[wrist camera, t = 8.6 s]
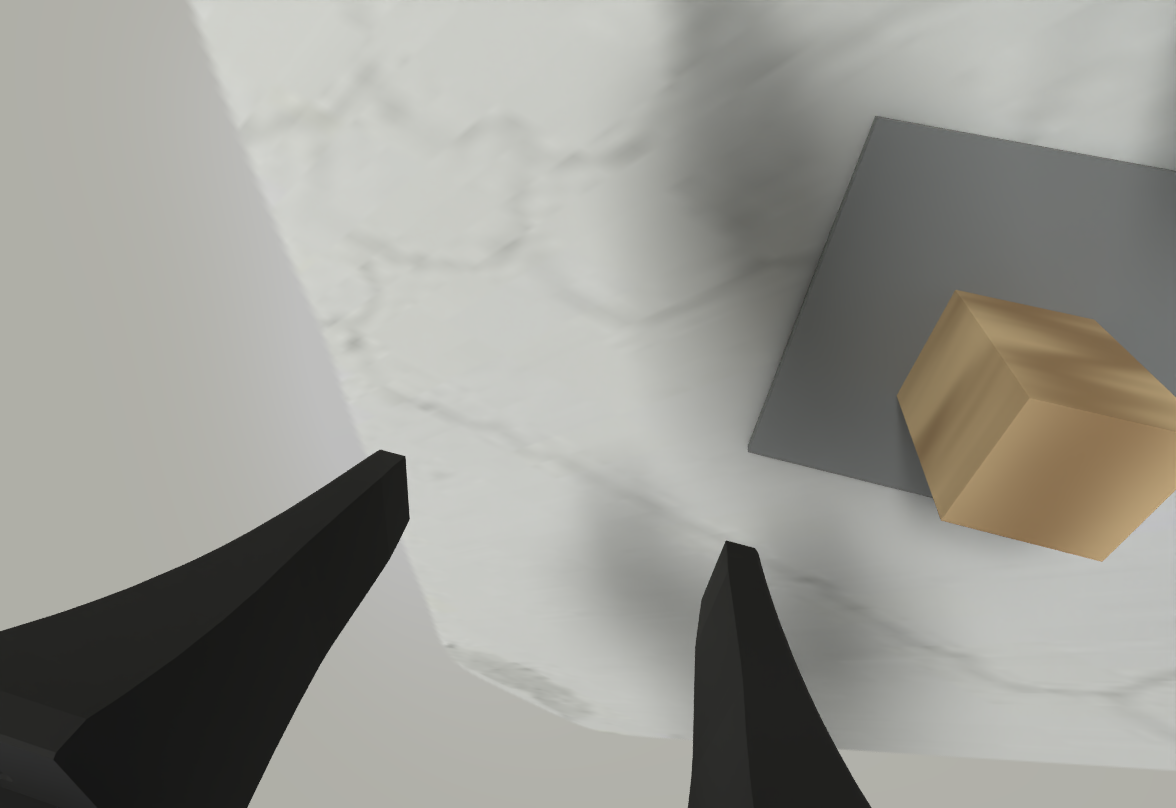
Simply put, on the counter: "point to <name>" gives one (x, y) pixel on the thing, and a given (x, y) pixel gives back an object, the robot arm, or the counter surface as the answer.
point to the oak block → (1038, 426)
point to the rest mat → (961, 280)
